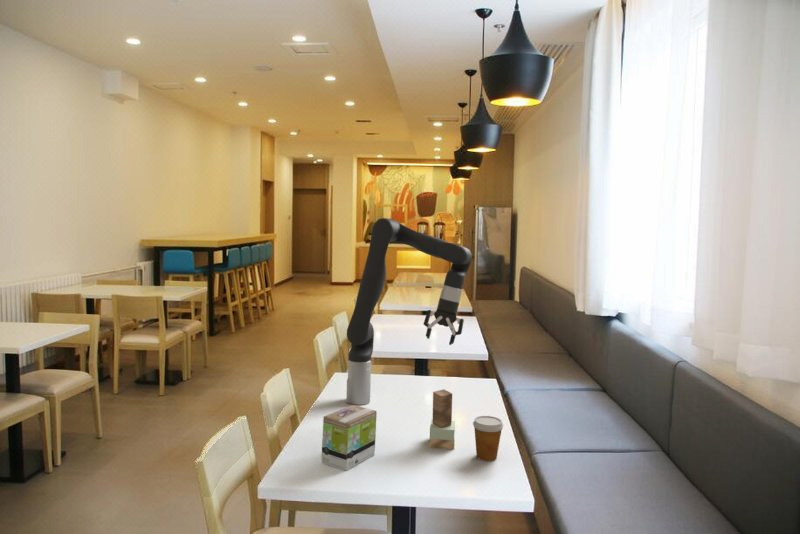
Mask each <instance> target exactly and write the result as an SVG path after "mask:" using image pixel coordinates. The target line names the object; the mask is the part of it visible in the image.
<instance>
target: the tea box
mask: <svg viewBox="0 0 800 534" xmlns="http://www.w3.org/2000/svg"><path fill="white" fill-rule="evenodd" d="M377 415H378V414H377V410H375V409H371V408H368V407H367V408H366V407H363V406H359V405H355V404H350V405H348V406H346V407H344V408H341V409H339V410H337V411H334V412H331V413H329V414H327V415H324V416H323V419H322V438H321V439H322V441H321V444H322V445H321V460H320V461H321V463H322V464H324V465H328V466H331V467H333V468H336V469H339V470H342V471H345V472H346V471H348V470H349V469H351V468H353V467H354V466H357V465H359V464H361V462H364V461H365V460H368V459H369V458H371V457H373V456H374V455H375V454H376V453H375V452H376V434H377V433H376V432H377V417H378V416H377ZM367 458H368V459H367Z"/></svg>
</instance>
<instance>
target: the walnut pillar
mask: <svg viewBox="0 0 800 534" xmlns="http://www.w3.org/2000/svg"><path fill="white" fill-rule="evenodd" d="M452 410H453V393H451V392H450V391H448V390H447V389H439V390H436V391H432V420H433V421H432V423H433V424H434V425H436V426H438V427H439V428H443V427H447V426H451V422H452V421H453V419H452V418H453V417H452V414H453V413H452V412H453V411H452Z"/></svg>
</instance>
